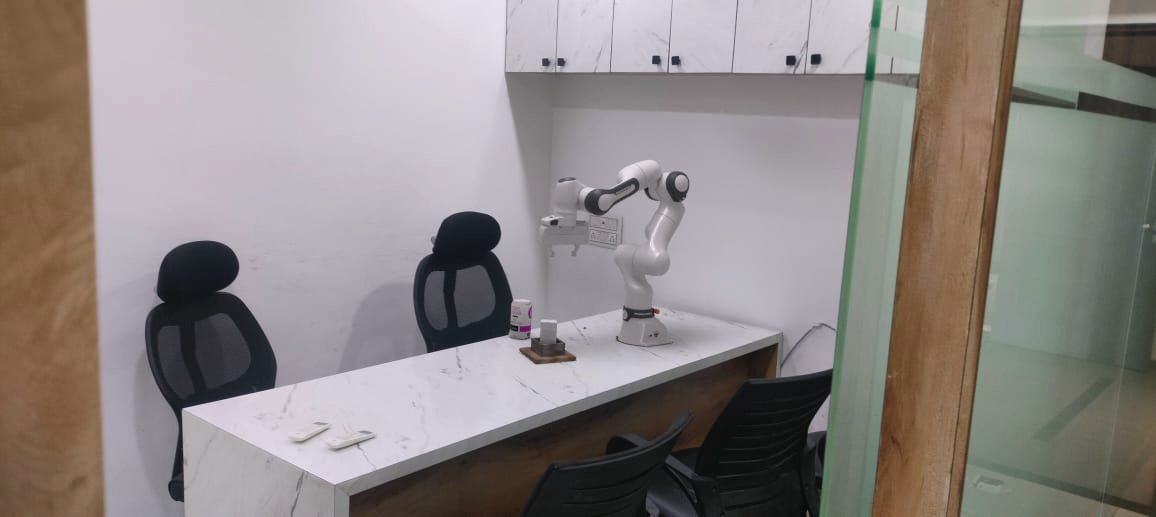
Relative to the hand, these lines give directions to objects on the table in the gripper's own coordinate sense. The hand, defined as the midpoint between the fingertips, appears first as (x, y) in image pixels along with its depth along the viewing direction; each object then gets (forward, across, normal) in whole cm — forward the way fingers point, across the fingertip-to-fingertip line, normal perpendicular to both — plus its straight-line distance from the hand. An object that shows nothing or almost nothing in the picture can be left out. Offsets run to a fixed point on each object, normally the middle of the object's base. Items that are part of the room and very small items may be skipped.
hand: (562, 256), depth 303 cm
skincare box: (+34, +10, +13) cm, 38 cm away
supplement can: (+35, +10, -14) cm, 39 cm away
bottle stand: (+35, +10, +13) cm, 39 cm away
